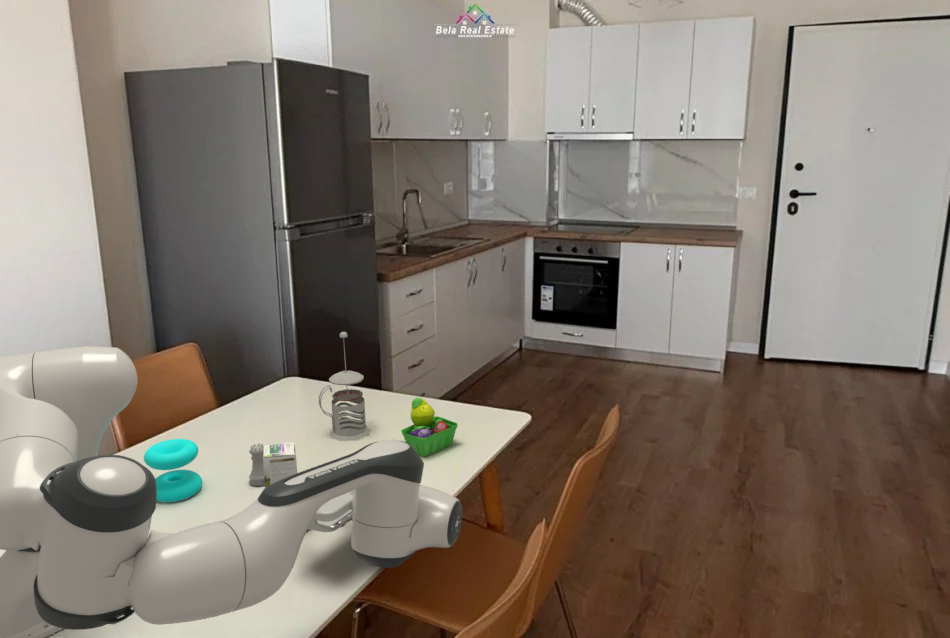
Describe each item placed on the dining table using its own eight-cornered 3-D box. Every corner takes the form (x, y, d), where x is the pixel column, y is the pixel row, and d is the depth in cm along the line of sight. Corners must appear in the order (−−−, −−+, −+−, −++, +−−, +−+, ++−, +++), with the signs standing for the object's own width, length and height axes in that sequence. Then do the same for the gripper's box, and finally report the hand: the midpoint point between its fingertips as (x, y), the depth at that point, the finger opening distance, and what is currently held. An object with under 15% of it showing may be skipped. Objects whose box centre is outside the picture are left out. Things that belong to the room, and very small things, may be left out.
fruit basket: (423, 461, 156) (421, 412, 154) (396, 449, 162) (394, 402, 160) (460, 444, 164) (458, 398, 162) (433, 434, 170) (432, 389, 168)
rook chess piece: (265, 488, 146) (261, 451, 144) (245, 486, 147) (241, 450, 145) (275, 477, 150) (272, 442, 148) (256, 476, 151) (252, 441, 149)
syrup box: (268, 516, 134) (261, 444, 130) (300, 511, 136) (294, 440, 132) (268, 532, 129) (261, 457, 125) (302, 527, 130) (296, 453, 127)
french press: (375, 436, 170) (369, 334, 163) (325, 445, 165) (317, 340, 159) (365, 421, 178) (359, 324, 172) (318, 429, 174) (310, 330, 168)
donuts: (139, 460, 136) (146, 440, 145) (146, 508, 138) (152, 485, 148) (196, 453, 139) (198, 433, 148) (201, 500, 141) (204, 478, 151)
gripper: (336, 549, 112) (270, 528, 118) (409, 493, 129) (348, 478, 136) (333, 512, 110) (267, 493, 117) (408, 461, 128) (346, 447, 134)
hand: (311, 484), depth 127 cm, fingers open, 8 cm apart
